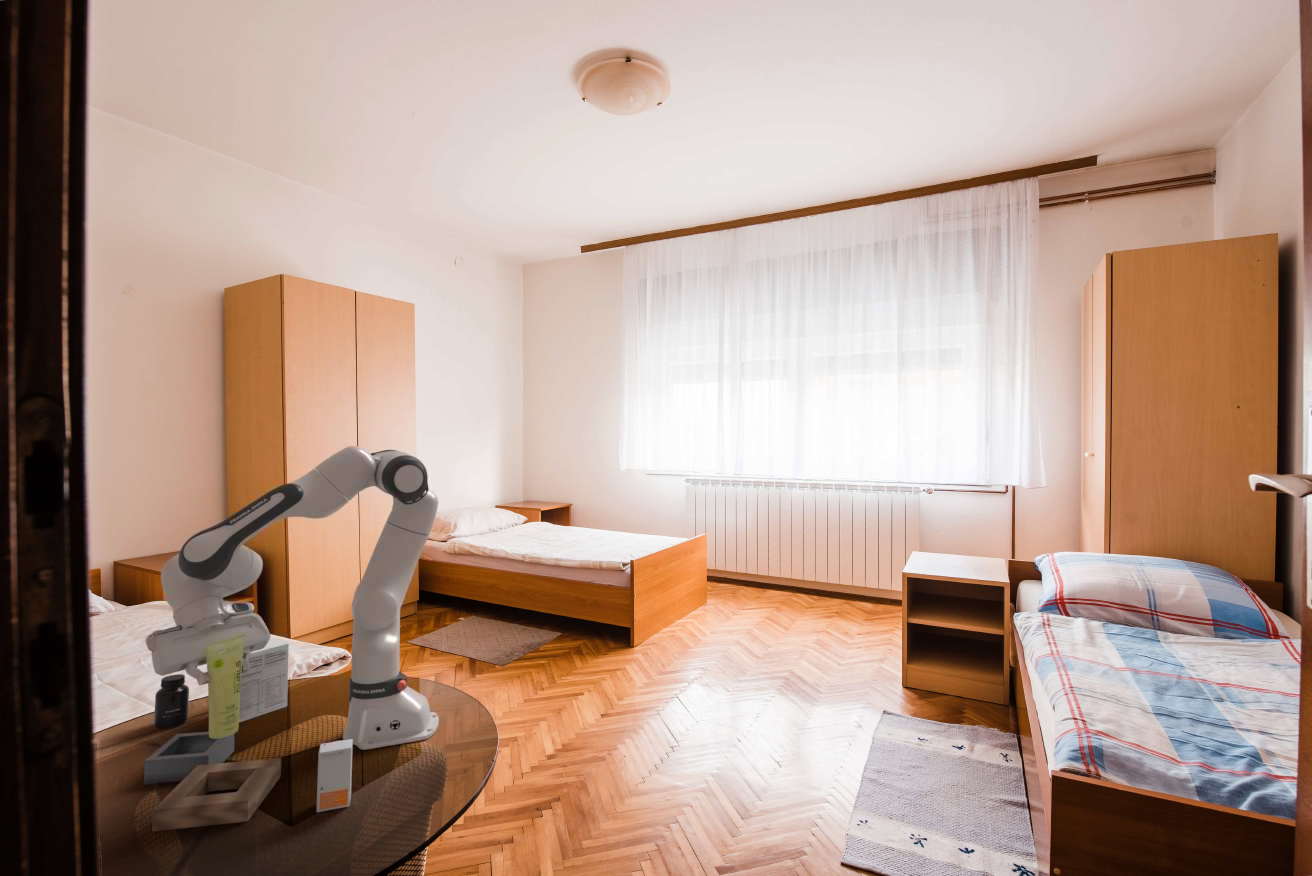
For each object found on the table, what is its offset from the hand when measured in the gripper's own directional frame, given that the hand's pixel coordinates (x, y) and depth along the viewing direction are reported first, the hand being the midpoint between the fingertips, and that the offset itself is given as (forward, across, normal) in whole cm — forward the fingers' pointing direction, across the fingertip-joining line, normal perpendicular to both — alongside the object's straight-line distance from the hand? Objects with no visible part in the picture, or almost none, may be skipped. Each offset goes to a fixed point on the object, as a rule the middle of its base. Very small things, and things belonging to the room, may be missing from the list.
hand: (226, 676), depth 122 cm
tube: (+8, 0, +9) cm, 12 cm away
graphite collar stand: (+3, +3, +33) cm, 33 cm away
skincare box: (+32, +11, +4) cm, 34 cm away
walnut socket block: (+18, 0, +18) cm, 26 cm away
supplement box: (-11, +26, +47) cm, 55 cm away
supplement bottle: (-16, +10, +53) cm, 56 cm away
